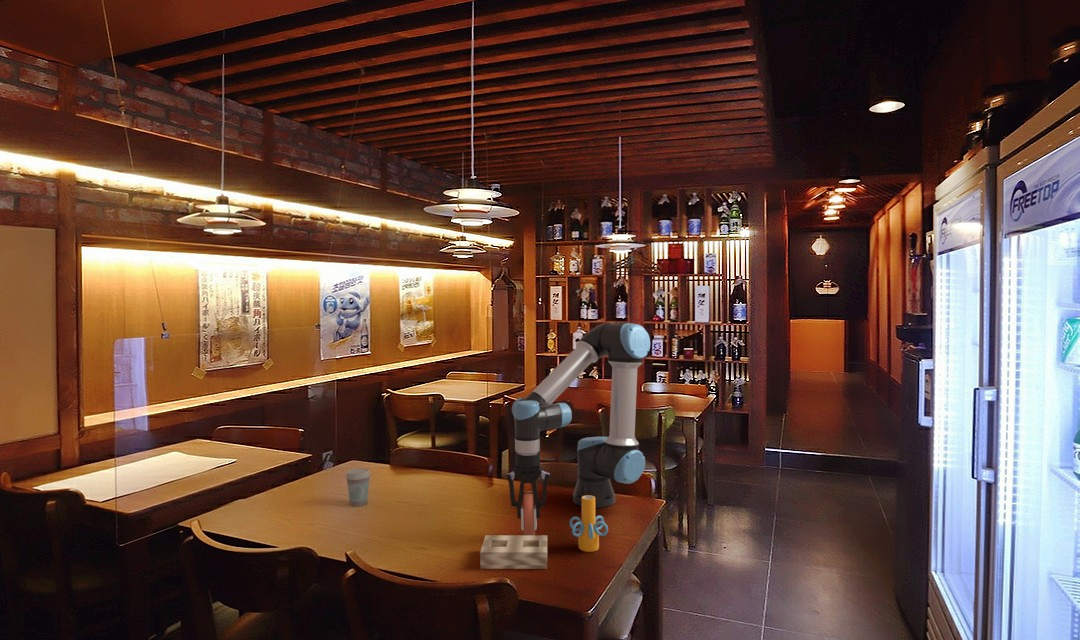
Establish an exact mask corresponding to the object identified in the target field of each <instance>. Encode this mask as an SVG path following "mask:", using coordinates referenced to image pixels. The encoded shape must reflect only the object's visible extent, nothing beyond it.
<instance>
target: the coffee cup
mask: <svg viewBox="0 0 1080 640" xmlns="http://www.w3.org/2000/svg"><path fill="white" fill-rule="evenodd" d="M370 477H371V472H370V470H369V469H368V468H365V467H364V468H363V467H362V468H359V467H358V468H353V469H349V470H348V471H347V472H346V475H345V479H346V483H347V491H348V498H349V506H350V507H354V506H355V507H356V508H357V507H358V506H359V507H364V506H366V505H367V504H368V498H369V496H368V495H369V486H370ZM363 505H364V506H363Z"/></svg>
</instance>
